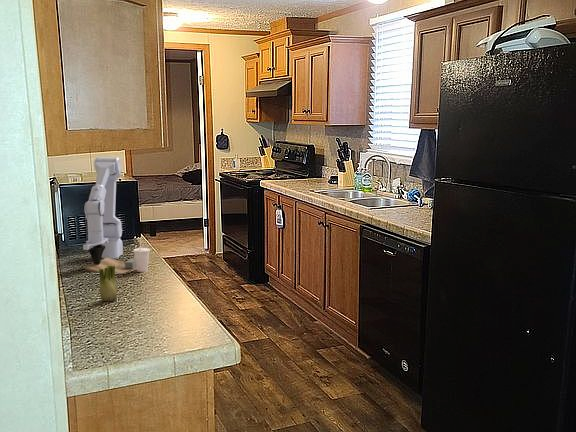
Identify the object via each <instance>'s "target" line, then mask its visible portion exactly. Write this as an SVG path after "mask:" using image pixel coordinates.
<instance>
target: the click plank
mask: <svg viewBox="0 0 576 432" xmlns="http://www.w3.org/2000/svg"><path fill="white" fill-rule="evenodd" d="M125 262H126V261H122V260H119V259H116V258H109V257H107V258H102V259H101V262H100V264H94V263H91V264H89V265H87V266H85V268H84V270H85V271H87V272H93V273H95V272H96V273H99V269H100V268H103V272H104V270H105V267H107V265H110V266H111V265H115V267H117V266H119V265H121V264H123V263H125Z"/></svg>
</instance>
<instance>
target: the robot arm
mask: <svg viewBox="0 0 576 432" xmlns="http://www.w3.org/2000/svg"><path fill="white" fill-rule="evenodd" d="M93 166H94V170H95V172H96V180H95V185H93V186H91V189H90V193H89V197H88V200H87V201H86V202H85V203H84V209H83V211H84V214H85V219H86V220H87V223H86V224H87V239H88V240H85V244H83V246H82V249H83V251H88V253H89V254H90V256H91V259H92V262H93V263H94V264H100V262H101V260H102V259H105V258H107V257H109V258H112V259H116V258H119V257H120V256H122V255H123V254H124V249H123V248H124V246H123V240H122V239H121V237H122V235H123V226H122V225H123V224H122V221H121V219H119V218H118V217H117V216H116V199H117V198H116V197H117V196H116V195H117V180H118V178H120V177H121V174H122V162H121V159H120V158H119V157H117V156H116V157H100V156H97V157H96V158H94V164H93ZM93 263H92V264H93Z"/></svg>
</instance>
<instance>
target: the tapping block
mask: <svg viewBox="0 0 576 432" xmlns="http://www.w3.org/2000/svg"><path fill="white" fill-rule="evenodd" d="M124 262H125V268H130V269H132V270H134V269H135V268H134V267H135V266H136V261H135V257H132V258H131V257H130V258H128V260H126V261H124ZM133 268H134V269H133Z"/></svg>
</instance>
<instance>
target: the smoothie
mask: <svg viewBox="0 0 576 432" xmlns="http://www.w3.org/2000/svg"><path fill="white" fill-rule="evenodd" d="M132 251H133V252H132V253H133V254H134V258H135V261H136V272H140V273H145V272H148V269H149V257H150V252H151V249H150V248H149V247H142V239H141V238H139V247H138V248H134V249H133V250H132Z"/></svg>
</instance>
